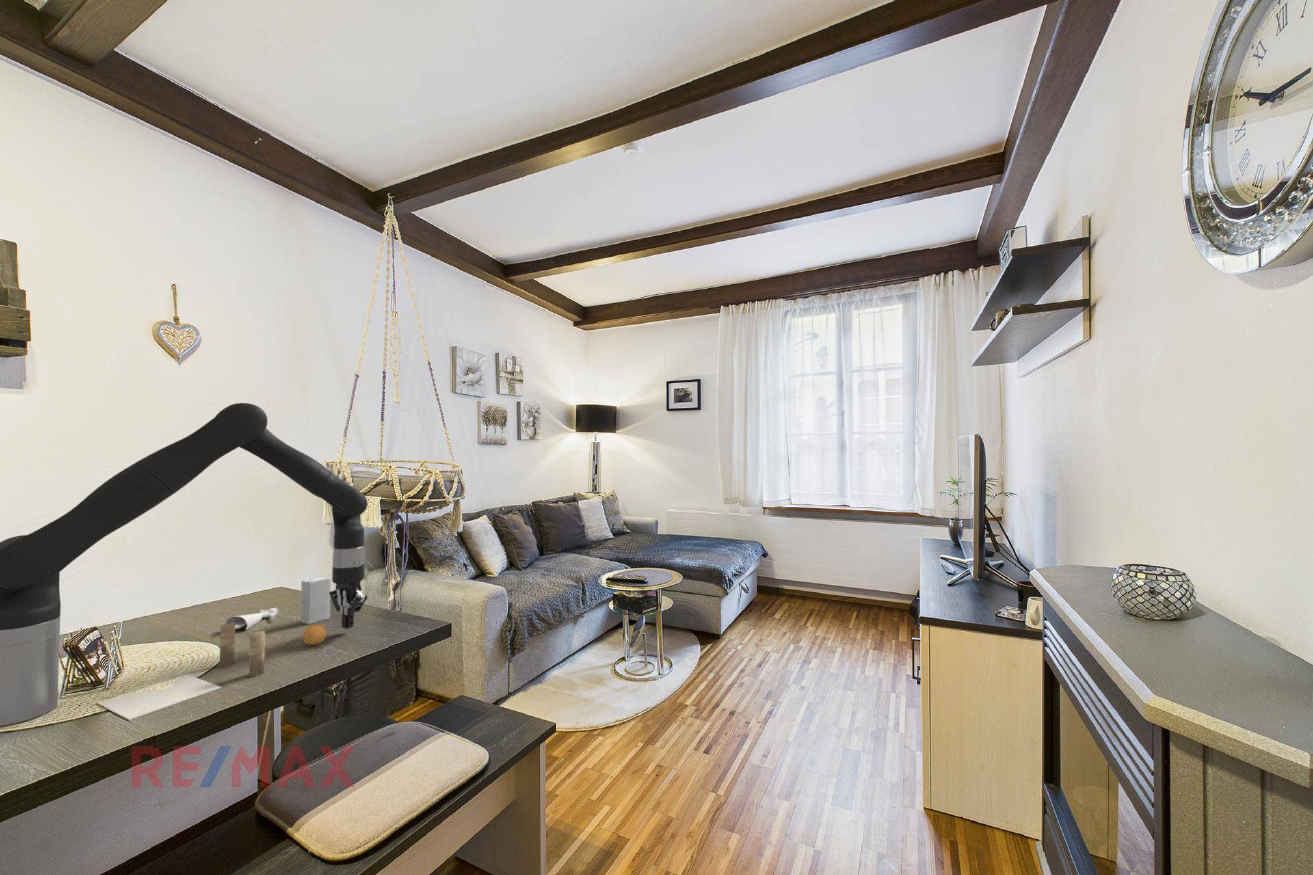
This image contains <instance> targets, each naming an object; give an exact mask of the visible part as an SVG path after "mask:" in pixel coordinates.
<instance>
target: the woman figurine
mask: <svg viewBox="0 0 1313 875" xmlns="http://www.w3.org/2000/svg"><path fill="white" fill-rule="evenodd" d="M277 614H278V608H277V607H275V606H272V607H270V608H269V609H266V610H263V609H260V610H259V612H258V613H250V614H241V615H235V616H230V617H229V618H227V619H226V620H225V622H223V624H227V623H235V630H238V629H242V627H243V628H245V626H246V628H245V631H246V630H249V629H251V628H252V627H254V626H255V625H256V624H258V623H260V621H261V620H262V618H263V619H266V618H271V619H273V621H274V620H276V617H275V616H276V615H277Z"/></svg>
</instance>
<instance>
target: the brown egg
mask: <svg viewBox="0 0 1313 875" xmlns="http://www.w3.org/2000/svg"><path fill="white" fill-rule="evenodd" d="M326 635H327V630H326V627H325V626H323V625H322V624H319V623H318V624H317V623H316V624H315V623H313V624H310V625H309V626H308V627H307V628H306V629H305V630H304V631H303V633H302V640H303V641H304V643H305V644H307V645H308V646H315V645H318V644H320V643H321V642H323V641H324V639H325V638H326Z"/></svg>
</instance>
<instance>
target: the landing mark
mask: <svg viewBox="0 0 1313 875" xmlns="http://www.w3.org/2000/svg"><path fill="white" fill-rule="evenodd" d="M184 675H185V676H184ZM184 675H180V676H176V677H174V678H175V679H173V678H170V679H169V680H171V679H172V680H178V681H167V680H165V681H163V682H166V683H163V684H174V685H171V686H172V687H167V689H165V690H157V691H159V692H156V690H149V689H144V690H139V689H136V691H142V692H133V693H142V694H136V695H142V696H132V691H129V692H126V693H123V694H121V695H120V694H119V695H117V696H113V697H111V698H108V699H105V700H103V701H105V702H103V703H98V702H97V703H98V704H101V706H100V707H102V706H104V707H105V708H104V707H103V708H104V709H106V708H107V710H109V711H111V712H112V713H114V714H116V715H117V716H120V717H122V718H124V719H126V720H128V721H132V720H135V719H137V718H141V717H143V716H145V715H149V714H153V713H154V712H157V711H160V710H164V709H166V708H169V707H172V706H174V705H175V706H176V705H177V704H181V703H184V702H186V701H188V700H192V699H194V698H198V697H200V696H203V695H206V694H209V693H212V692H215V691H217V690H220V689H222V687H221V686H219V685H216V684H214V683H211V682H209V681H206V680H204V679H200V678H198V677H195V676H192V675H190V674H184ZM176 678H178V679H176ZM167 682H168V683H167ZM169 682H174V683H169ZM176 682H177V683H176ZM159 683H160V684H161V682H159ZM150 686H154V684H152V685H150ZM155 686H156V685H155ZM157 686H158V685H157ZM160 686H161V685H160ZM163 686H165V685H163ZM166 686H167V685H166ZM145 687H146V688H154V687H148V686H145ZM155 688H156V687H155ZM164 688H165V687H164ZM145 691H146V692H145ZM148 691H155V692H153V693H152V692H148ZM130 693H131V694H130ZM143 693H151V694H143ZM154 693H155V694H154ZM134 695H135V694H134ZM143 695H145V696H143ZM122 697H123V698H122ZM130 697H136V698H130ZM122 699H123V700H122ZM131 699H133V700H131ZM106 701H108V702H106ZM109 701H110V702H109ZM98 704H97V705H98Z"/></svg>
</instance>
